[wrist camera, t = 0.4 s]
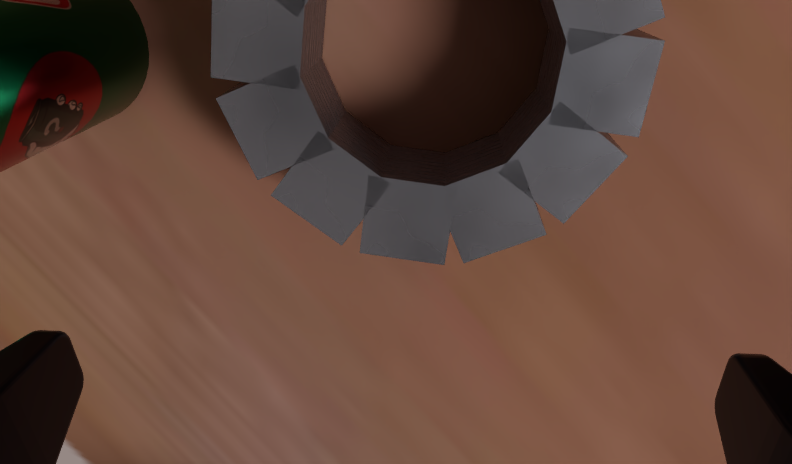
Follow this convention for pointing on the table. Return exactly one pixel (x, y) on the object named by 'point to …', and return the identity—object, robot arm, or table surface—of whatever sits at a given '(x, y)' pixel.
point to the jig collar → (428, 170)
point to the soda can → (65, 70)
